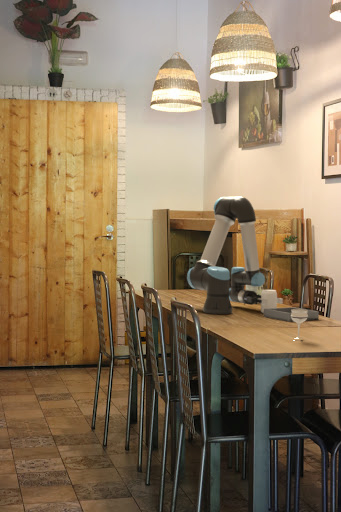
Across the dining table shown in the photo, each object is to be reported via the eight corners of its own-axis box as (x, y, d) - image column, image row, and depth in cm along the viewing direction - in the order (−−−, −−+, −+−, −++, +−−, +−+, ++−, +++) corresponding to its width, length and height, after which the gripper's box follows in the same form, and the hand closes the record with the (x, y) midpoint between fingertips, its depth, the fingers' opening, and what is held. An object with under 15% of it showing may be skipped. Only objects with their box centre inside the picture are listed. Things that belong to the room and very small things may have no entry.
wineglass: (304, 338, 291) (305, 309, 290) (308, 341, 284) (309, 311, 284) (288, 338, 291) (289, 309, 290) (291, 341, 284) (292, 311, 283)
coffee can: (245, 301, 428) (245, 277, 427) (262, 301, 427) (263, 278, 426) (245, 303, 418) (245, 279, 417) (262, 303, 417) (263, 279, 416)
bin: (288, 321, 341) (288, 313, 341) (263, 316, 357) (263, 308, 357) (318, 319, 351) (318, 311, 350) (292, 314, 367) (293, 307, 367)
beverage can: (276, 314, 367) (276, 291, 367) (260, 313, 369) (260, 290, 368) (276, 312, 375) (277, 289, 375) (261, 311, 377) (262, 289, 376)
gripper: (264, 303, 393) (290, 308, 374) (231, 304, 382) (256, 309, 363) (264, 289, 393) (291, 293, 374) (231, 290, 381) (257, 295, 362)
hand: (274, 301), depth 368 cm, fingers open, 10 cm apart
